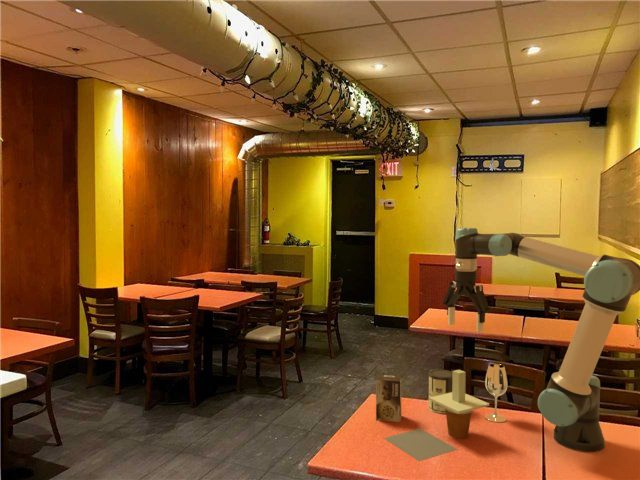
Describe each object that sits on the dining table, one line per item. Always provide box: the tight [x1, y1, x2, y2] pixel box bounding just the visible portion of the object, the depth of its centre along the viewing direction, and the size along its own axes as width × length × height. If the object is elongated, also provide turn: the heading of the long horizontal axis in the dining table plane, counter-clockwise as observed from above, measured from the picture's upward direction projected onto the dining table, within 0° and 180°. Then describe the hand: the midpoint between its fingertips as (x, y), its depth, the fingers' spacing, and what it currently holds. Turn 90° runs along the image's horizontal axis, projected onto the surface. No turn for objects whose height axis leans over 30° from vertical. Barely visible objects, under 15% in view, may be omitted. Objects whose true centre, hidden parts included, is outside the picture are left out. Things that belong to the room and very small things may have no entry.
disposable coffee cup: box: [445, 408, 473, 440], centre depth 170 cm, size 10×10×12 cm
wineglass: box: [484, 363, 508, 423], centre depth 186 cm, size 8×8×20 cm
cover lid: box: [428, 369, 490, 414], centre depth 169 cm, size 14×14×11 cm
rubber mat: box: [383, 428, 459, 462], centre depth 163 cm, size 18×16×1 cm
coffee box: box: [375, 374, 402, 423], centre depth 184 cm, size 9×6×16 cm
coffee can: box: [427, 369, 453, 415], centre depth 195 cm, size 10×10×14 cm
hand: (465, 328), depth 182 cm, fingers open, 13 cm apart
